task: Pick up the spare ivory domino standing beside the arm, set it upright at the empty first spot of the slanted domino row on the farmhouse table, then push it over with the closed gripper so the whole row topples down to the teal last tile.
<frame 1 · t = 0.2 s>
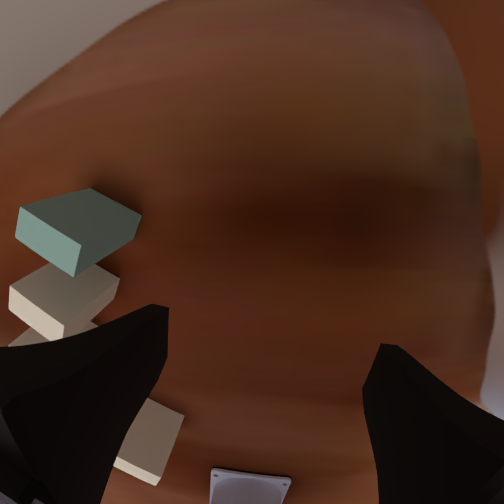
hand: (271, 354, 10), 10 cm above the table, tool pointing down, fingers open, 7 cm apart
last tile: (110, 213, 20), on the table
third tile: (81, 324, 23), on the table
lead tile: (158, 410, 25), on the table
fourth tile: (92, 274, 22), on the table
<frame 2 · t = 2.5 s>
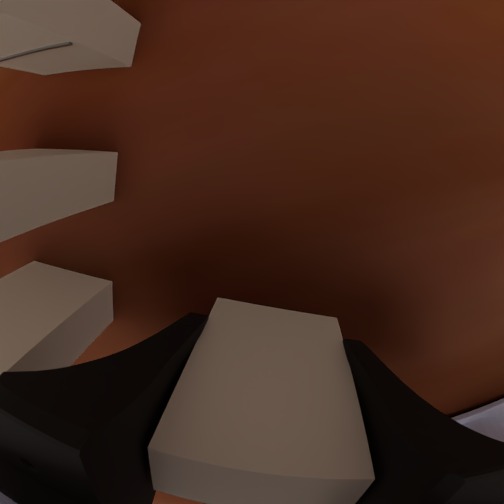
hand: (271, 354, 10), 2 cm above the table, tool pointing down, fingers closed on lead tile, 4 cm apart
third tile: (69, 172, 11), on the table
lead tile: (273, 329, 12), on the table, touching gripper
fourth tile: (87, 49, 9), on the table
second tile: (70, 289, 12), on the table
when the fingers open (2 cm above the table, at t = 5.9 s): lead tile stays where it is, on the table.
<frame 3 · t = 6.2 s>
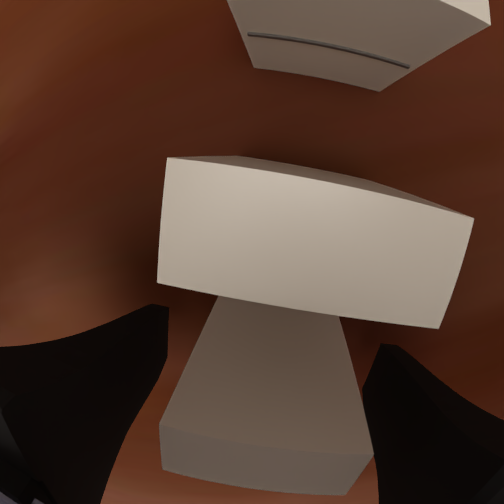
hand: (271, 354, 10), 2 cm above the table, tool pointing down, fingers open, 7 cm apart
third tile: (321, 54, 9), on the table
lead tile: (275, 319, 12), on the table
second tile: (299, 192, 11), on the table
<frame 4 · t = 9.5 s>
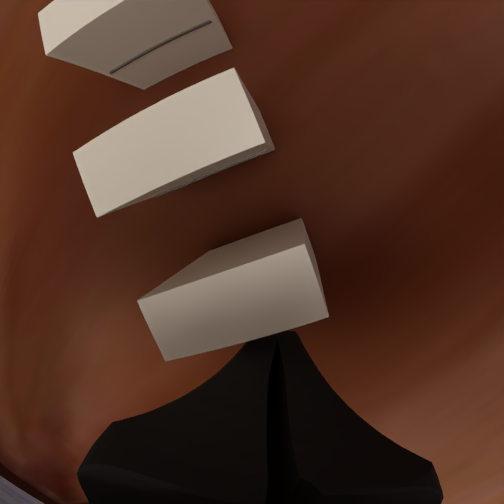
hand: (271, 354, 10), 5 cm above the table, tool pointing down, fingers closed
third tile: (180, 52, 12), on the table
lead tile: (261, 253, 14), on the table, tilted 6°
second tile: (219, 149, 13), on the table
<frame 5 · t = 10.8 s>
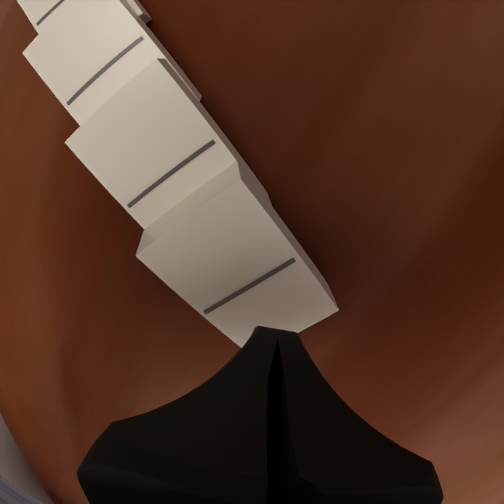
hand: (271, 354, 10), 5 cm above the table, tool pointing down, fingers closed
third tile: (158, 129, 12), point 1 cm above the table, tilted 69°, touching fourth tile, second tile
lead tile: (290, 320, 14), point 1 cm above the table, tilted 69°
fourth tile: (109, 44, 11), point 1 cm above the table, tilted 73°, touching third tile
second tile: (225, 229, 13), point 1 cm above the table, tilted 69°, touching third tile
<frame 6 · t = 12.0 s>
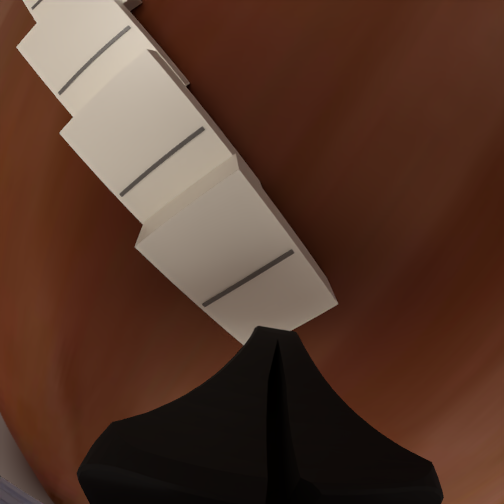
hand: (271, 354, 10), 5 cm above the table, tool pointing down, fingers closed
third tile: (147, 116, 12), point 1 cm above the table, tilted 70°
lead tile: (289, 314, 14), point 1 cm above the table, tilted 70°, touching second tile
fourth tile: (100, 27, 11), point 1 cm above the table, tilted 71°
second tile: (218, 219, 13), point 1 cm above the table, tilted 70°, touching lead tile
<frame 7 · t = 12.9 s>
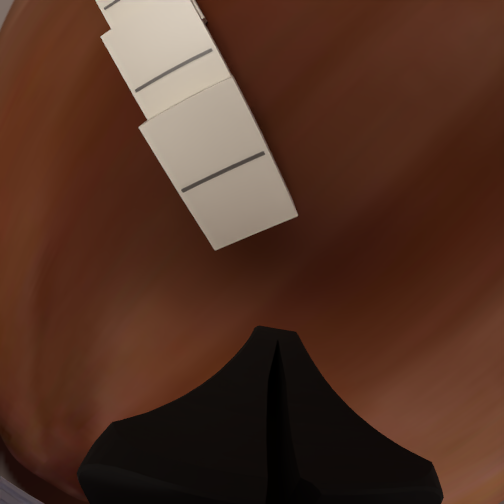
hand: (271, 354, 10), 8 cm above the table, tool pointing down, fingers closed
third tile: (168, 39, 14), point 1 cm above the table, tilted 72°, touching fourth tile, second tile
lead tile: (254, 224, 16), point 1 cm above the table, tilted 70°, touching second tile
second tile: (208, 128, 15), point 1 cm above the table, tilted 71°, touching lead tile, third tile
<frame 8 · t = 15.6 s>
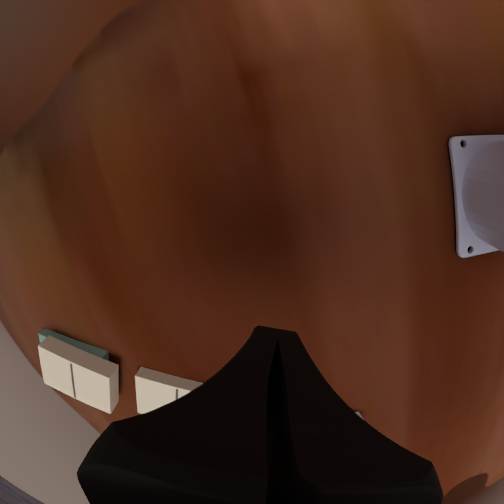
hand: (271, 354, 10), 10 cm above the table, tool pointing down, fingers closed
last tile: (108, 372, 24), on the table, tilted 90°, touching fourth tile
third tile: (221, 409, 24), on the table, tilted 90°
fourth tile: (114, 390, 23), point 2 cm above the table, tilted 89°, touching last tile
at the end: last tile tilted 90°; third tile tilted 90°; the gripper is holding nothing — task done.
